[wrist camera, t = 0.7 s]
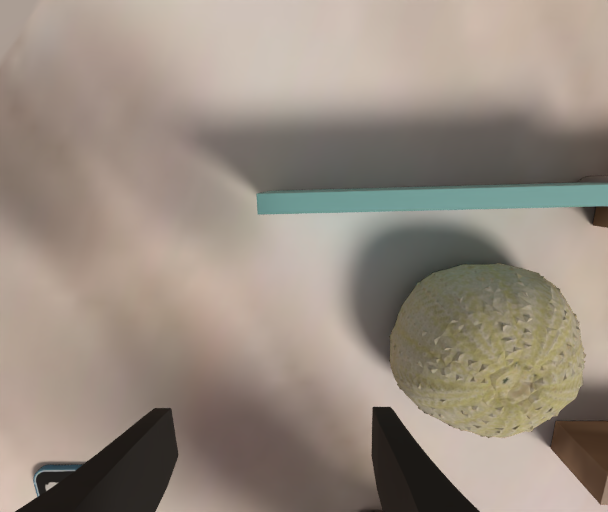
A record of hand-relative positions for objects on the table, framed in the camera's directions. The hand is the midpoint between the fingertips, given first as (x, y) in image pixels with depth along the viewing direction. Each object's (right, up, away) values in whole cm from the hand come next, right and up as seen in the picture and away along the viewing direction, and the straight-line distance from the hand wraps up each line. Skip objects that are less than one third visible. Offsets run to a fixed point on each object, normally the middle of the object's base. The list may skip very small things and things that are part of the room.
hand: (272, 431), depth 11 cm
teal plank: (+8, +9, +5) cm, 13 cm away
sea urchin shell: (+10, +2, +7) cm, 13 cm away
